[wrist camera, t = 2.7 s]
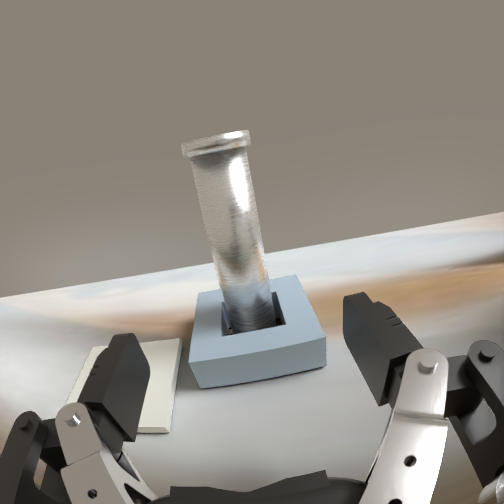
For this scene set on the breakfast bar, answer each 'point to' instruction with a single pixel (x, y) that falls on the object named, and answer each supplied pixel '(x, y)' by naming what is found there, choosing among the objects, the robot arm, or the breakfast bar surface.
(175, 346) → the felt pad
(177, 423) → the breakfast bar surface
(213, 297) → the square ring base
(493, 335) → the breakfast bar surface
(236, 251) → the steel pin
